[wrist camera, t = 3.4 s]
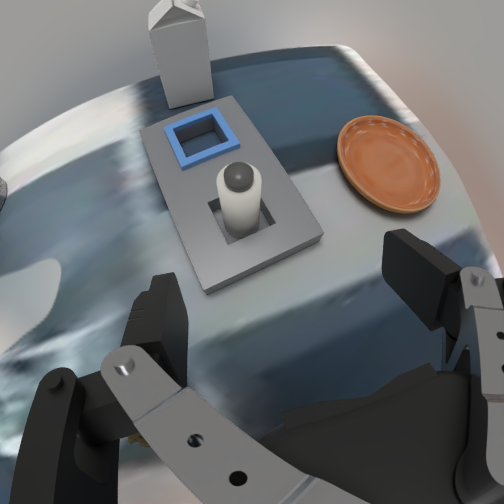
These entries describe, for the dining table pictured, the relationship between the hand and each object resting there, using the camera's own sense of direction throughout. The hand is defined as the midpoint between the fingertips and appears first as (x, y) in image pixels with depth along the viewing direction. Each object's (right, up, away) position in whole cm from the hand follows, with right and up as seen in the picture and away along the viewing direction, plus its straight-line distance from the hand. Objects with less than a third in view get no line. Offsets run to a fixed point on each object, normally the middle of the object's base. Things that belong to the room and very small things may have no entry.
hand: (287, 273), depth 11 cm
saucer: (+18, +12, +27) cm, 35 cm away
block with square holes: (-5, +9, +25) cm, 27 cm away
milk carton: (-11, +27, +31) cm, 43 cm away
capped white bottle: (-3, +4, +24) cm, 24 cm away
